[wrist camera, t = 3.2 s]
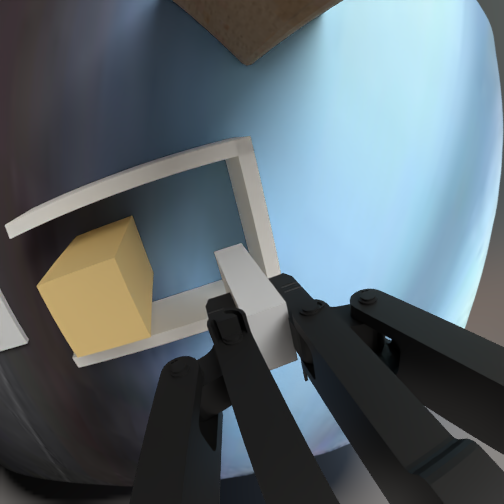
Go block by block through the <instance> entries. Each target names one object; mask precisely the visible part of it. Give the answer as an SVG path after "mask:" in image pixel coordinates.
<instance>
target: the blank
mask: <svg viewBox="0 0 504 504" xmlns="http://www.w3.org/2000/svg"><path fill="white" fill-rule="evenodd" d="M37 288H38V290H39V292H40V294H41V296H42V298H43V300H44V302H45V303H46V305H47V307H48V309H49V311H50V313H51V314H52V316H53V318H54V320H55V322H56V323H57V325H58V327H59V328H60V330H61V332H62V334H63V335H64V337H65V338H66V340H67V342H68V343H69V345H70V347H71V348H72V350H73V351H74V353H75V354H76V356H77V357H78V358H79V357H82V356H86V355H90V354H94V353H97V352H101V351H105V350H108V349H112V348H115V347H119V346H122V345H126V344H129V343H133V342H136V341H139V340H143V339H146V338H150V337H151V313H152V289H153V270H152V267H151V265H150V262H149V260H148V257H147V254H146V252H145V249H144V246H143V244H142V241H141V238H140V235H139V233H138V230H137V227H136V224H135V221H134V218H133V215H132V216H129V217H126V218H124V219H121V220H118V221H115V222H113V223H110V224H107V225H104V226H102V227H99V228H96V229H94V230H91V231H88V232H86V233H83V234H81V235H78V236H76V237H75V239H74V240H73V241H72V242H71V243H70V245H69V246H68V247H67V248H66V249H65V250H64V252H63V253H62V254H61V255H60V257H59V258H58V259H57V260H56V262H55V263H54V264H53V265H52V267H51V268H50V269H49V270H48V272H47V273H46V274H45V276H44V277H43V278H42V280H41V281H40V282H39V283H38V285H37Z"/></svg>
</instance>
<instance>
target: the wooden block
mask: <svg viewBox="0 0 504 504" xmlns="http://www.w3.org/2000/svg"><path fill="white" fill-rule="evenodd" d="M173 1H174V2H175V3H176V4H177V5H179V6H180V7H181V8H182V9H183V10H185V11H186V12H187V13H188V14H189V15H191V16H192V17H193V18H194V19H195V20H196V21H198V22H199V23H200V24H201V25H202V26H203V27H204V28H205V29H207V30H208V31H209V32H210V33H211V34H212V35H213V36H214V37H215V38H216V39H217V40H219V41H220V42H221V43H222V44H223V45H224V46H225V47H226V48H227V49H228V50H229V51H230V52H231V53H232V54H233V55H234V56H235V57H236V58H237V59H238V60H239V61H240V62H241V63H242V64H244V65H246V66H248V65H251V64H253V63H254V62H255V61H257V60H258V59H259V58H260V57H262V56H263V55H264V54H266V53H267V52H268V51H269V50H271V49H272V48H273V47H275V46H276V45H277V44H279V43H280V42H282V41H283V40H284V39H286V38H287V37H288V36H290V35H291V34H293V33H294V32H295V31H297V30H298V29H300V28H301V27H303V26H304V25H306V24H307V23H309V22H310V21H312V20H313V19H315V18H316V17H318V16H319V15H321V14H322V13H324V12H326V11H327V10H329V9H330V8H332V7H333V6H335V5H336V4H338V3H340V2H341V1H343V0H173Z"/></svg>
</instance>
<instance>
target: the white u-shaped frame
mask: <svg viewBox="0 0 504 504" xmlns="http://www.w3.org/2000/svg"><path fill="white" fill-rule="evenodd" d="M221 160H226V164H227V168H228V172H229V176H230V180H231V184H232V188H233V192H234V196H235V200H236V204H237V208H238V212H239V216H240V220H241V224H242V228H243V232H244V236H245V239H246V243H247V247H248V251H249V254H250V255H251V257H252V258H253V259H254V261H255V262H256V263H257V265H258V266H259V267H260V269H261V270H262V271H263V273H264V274H265V275H266V277H267V278H271V277H274V276H277V275H279V274H281V271H280V266H279V262H278V257H277V252H276V248H275V243H274V238H273V234H272V229H271V224H270V220H269V215H268V211H267V206H266V202H265V197H264V193H263V188H262V184H261V180H260V175H259V171H258V167H257V162H256V158H255V154H254V149H253V145H252V141H251V137H250V136H246V137H233V138H229V139H225V140H221V141H217V142H214V143H210V144H206V145H202V146H199V147H195V148H192V149H188V150H185V151H182V152H178V153H175V154H172V155H168V156H165V157H162V158H159V159H156V160H153V161H150V162H147V163H144V164H141V165H138V166H135V167H132V168H129V169H127V170H124V171H121V172H118V173H116V174H113V175H110V176H107V177H105V178H102V179H100V180H97V181H95V182H92V183H90V184H87V185H85V186H82V187H80V188H77V189H75V190H72V191H70V192H68V193H65V194H63V195H61V196H59V197H56V198H54V199H52V200H50V201H47V202H45V203H43V204H41V205H39V206H37V207H35V208H32V209H31V210H29V211H27V212H26V213H24V214H22V215H20V216H19V217H17V218H16V219H14V220H12V221H11V222H9V223H7V224H6V225H5V227H6V230H7V232H8V235H9V238H10V239H11V238H13V237H15V236H17V235H19V234H21V233H24V232H26V231H28V230H30V229H32V228H34V227H36V226H39V225H41V224H43V223H45V222H48V221H50V220H52V219H55V218H57V217H59V216H62V215H64V214H66V213H69V212H71V211H74V210H76V209H78V208H81V207H83V206H86V205H88V204H91V203H94V202H96V201H99V200H101V199H104V198H107V197H109V196H112V195H115V194H117V193H120V192H123V191H126V190H128V189H131V188H134V187H137V186H140V185H143V184H146V183H149V182H152V181H155V180H158V179H161V178H164V177H167V176H170V175H173V174H176V173H180V172H183V171H186V170H190V169H193V168H196V167H200V166H203V165H207V164H210V163H214V162H217V161H221ZM223 294H226V290H225V286H224V283H223V280H219V281H216V282H213V283H210V284H207V285H203V286H200V287H197V288H194V289H191V290H188V291H185V292H182V293H179V294H176V295H173V296H170V297H166V298H163V299H160V300H157V301H154V302H152V313H151V337H150V338H146V339H143V340H139V341H136V342H133V343H129V344H126V345H122V346H119V347H115V348H112V349H108V350H105V351H101V352H97V353H94V354H90V355H86V356H82V357H79V358H78V357H77V356H76V354H75V353H74V355H73V360H74V361H75V363H76V364H77V366H78V367H83V366H87V365H91V364H95V363H99V362H103V361H106V360H110V359H114V358H118V357H121V356H125V355H128V354H132V353H135V352H139V351H142V350H146V349H149V348H153V347H156V346H160V345H163V344H166V343H169V342H173V341H176V340H179V339H182V338H186V337H189V336H192V335H195V334H198V333H201V332H205V331H208V328H207V321H208V315H207V311H206V307H205V306H206V304H207V301H208V299H211V298H214V297H217V296H220V295H223Z"/></svg>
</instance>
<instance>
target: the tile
mask: <svg viewBox="0 0 504 504" xmlns="http://www.w3.org/2000/svg"><path fill="white" fill-rule="evenodd" d="M28 341H29V339H28V338H27V336H26V334H25V333H24V331H23V329H22V328H21V326H20V324H19V323H18V321H17V319H16V317H15V316H14V314H13V312H12V310H11V308H10V307H9V305H8V303H7V301H6V299H5V297H4V295H3V293H2V291H1V289H0V351H3V350H7V349H10V348H14V347H17V346H21V345H24V344H27V343H28Z"/></svg>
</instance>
